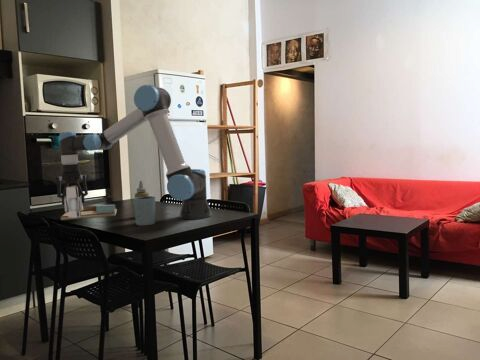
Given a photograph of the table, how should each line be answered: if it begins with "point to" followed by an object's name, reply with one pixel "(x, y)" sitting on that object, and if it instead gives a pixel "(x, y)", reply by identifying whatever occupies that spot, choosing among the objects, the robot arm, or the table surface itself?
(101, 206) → the block
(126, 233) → the table surface
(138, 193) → the squeeze bottle
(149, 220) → the drinking glass
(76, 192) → the beer glass
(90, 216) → the board
